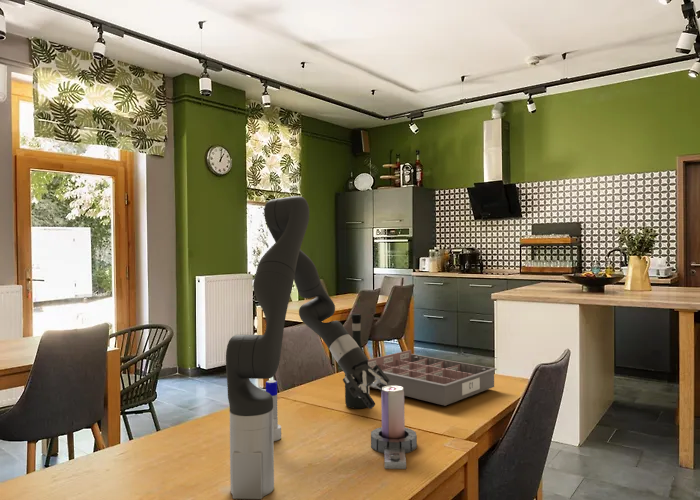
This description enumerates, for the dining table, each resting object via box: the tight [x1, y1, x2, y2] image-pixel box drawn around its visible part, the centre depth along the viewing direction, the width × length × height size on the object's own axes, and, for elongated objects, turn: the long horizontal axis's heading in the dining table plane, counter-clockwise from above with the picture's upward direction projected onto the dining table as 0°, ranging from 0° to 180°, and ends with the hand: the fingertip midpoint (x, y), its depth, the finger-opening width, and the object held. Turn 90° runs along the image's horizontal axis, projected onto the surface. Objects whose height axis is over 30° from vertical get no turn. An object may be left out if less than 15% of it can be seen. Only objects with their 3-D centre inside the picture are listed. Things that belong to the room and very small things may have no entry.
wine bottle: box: [344, 313, 370, 409], centre depth 171 cm, size 8×8×30 cm
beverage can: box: [380, 385, 406, 439], centre depth 137 cm, size 6×6×15 cm
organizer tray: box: [368, 349, 497, 406], centre depth 191 cm, size 32×40×10 cm
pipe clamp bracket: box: [370, 426, 418, 470], centre depth 137 cm, size 29×12×3 cm, turn 177°
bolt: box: [265, 379, 282, 442], centre depth 142 cm, size 16×5×5 cm
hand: (382, 403), depth 139 cm, fingers open, 8 cm apart
